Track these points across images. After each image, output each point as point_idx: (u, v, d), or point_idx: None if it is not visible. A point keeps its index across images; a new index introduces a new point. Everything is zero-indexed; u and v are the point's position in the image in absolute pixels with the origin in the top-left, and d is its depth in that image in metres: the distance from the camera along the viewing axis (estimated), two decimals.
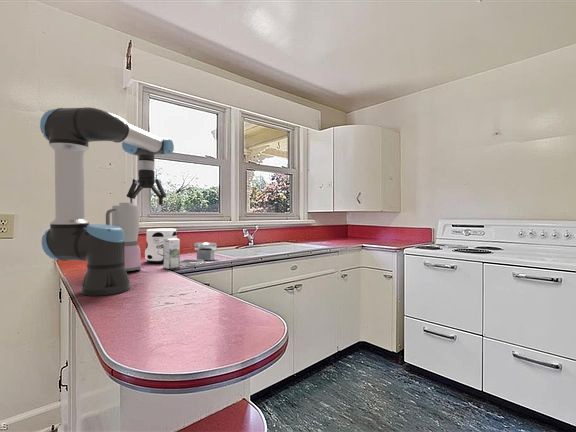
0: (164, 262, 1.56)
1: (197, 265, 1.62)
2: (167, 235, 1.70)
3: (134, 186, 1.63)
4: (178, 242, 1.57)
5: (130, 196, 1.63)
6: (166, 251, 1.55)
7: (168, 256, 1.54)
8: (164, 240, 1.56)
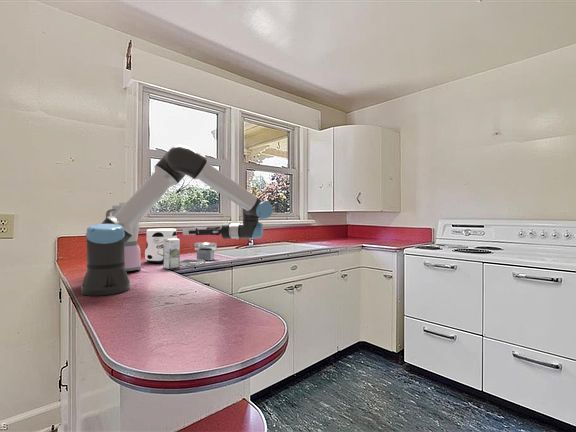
0: (164, 262, 1.56)
1: (197, 265, 1.62)
2: (167, 235, 1.70)
3: None
4: (178, 242, 1.57)
5: (209, 227, 1.64)
6: (166, 251, 1.55)
7: (168, 256, 1.54)
8: (164, 240, 1.56)
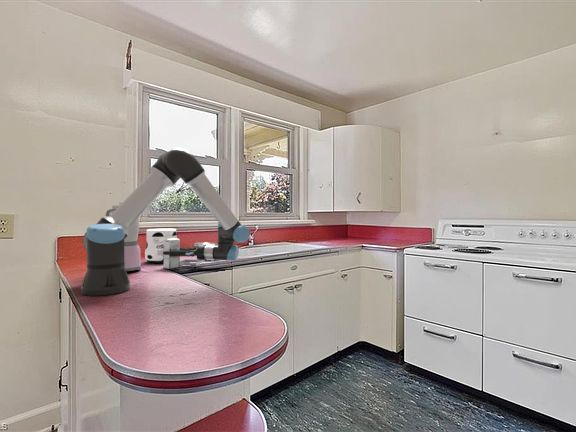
0: (164, 262, 1.56)
1: (197, 265, 1.62)
2: (167, 235, 1.70)
3: None
4: (178, 242, 1.57)
5: (181, 248, 1.63)
6: None
7: (168, 256, 1.54)
8: (164, 240, 1.57)
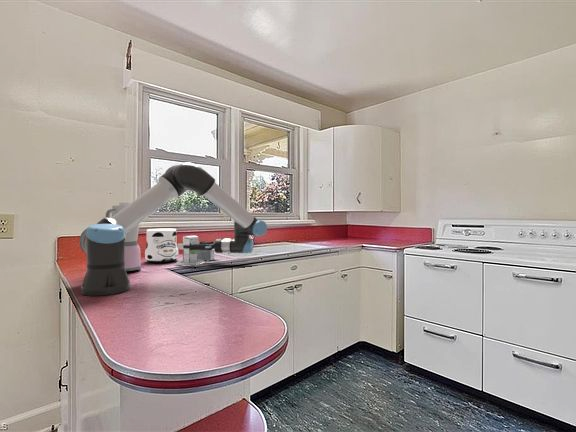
0: (184, 258, 1.67)
1: (197, 265, 1.62)
2: (167, 235, 1.70)
3: None
4: (197, 239, 1.68)
5: None
6: None
7: (188, 253, 1.65)
8: (184, 237, 1.67)
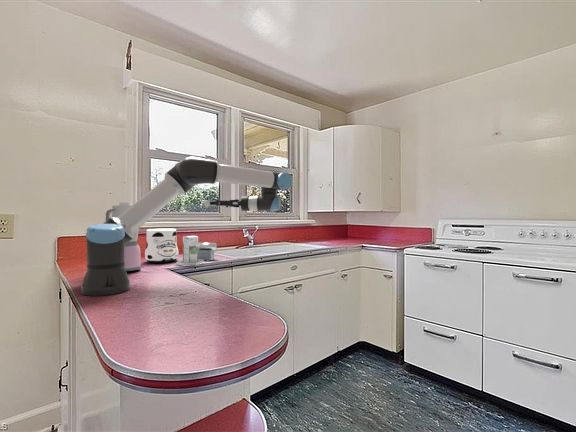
0: (184, 258, 1.67)
1: (197, 265, 1.62)
2: (167, 235, 1.70)
3: None
4: (197, 239, 1.68)
5: None
6: (185, 247, 1.66)
7: (188, 253, 1.65)
8: (184, 237, 1.67)
